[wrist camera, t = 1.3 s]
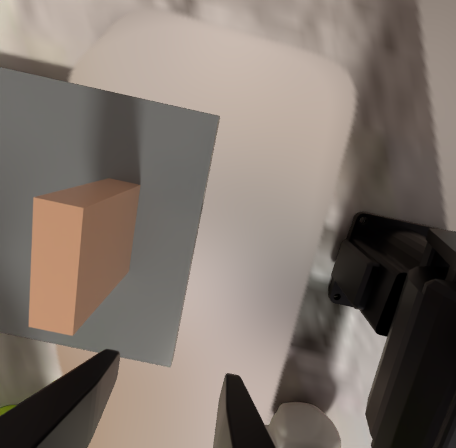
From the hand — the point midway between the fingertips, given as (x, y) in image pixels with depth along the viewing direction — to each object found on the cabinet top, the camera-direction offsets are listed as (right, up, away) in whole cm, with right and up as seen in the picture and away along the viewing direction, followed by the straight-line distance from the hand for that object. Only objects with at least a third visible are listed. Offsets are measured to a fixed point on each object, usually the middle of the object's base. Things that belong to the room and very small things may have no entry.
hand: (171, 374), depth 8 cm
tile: (-5, +4, +11) cm, 13 cm away
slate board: (-9, +4, +12) cm, 15 cm away
